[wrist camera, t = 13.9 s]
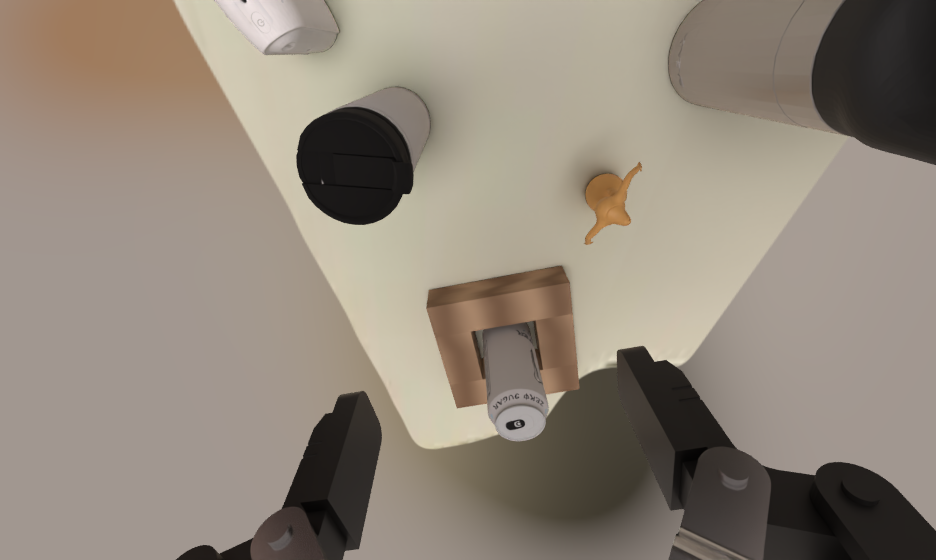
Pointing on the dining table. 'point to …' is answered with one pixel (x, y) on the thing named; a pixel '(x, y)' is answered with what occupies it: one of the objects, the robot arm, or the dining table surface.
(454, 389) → the wooden square frame
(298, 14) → the photo printer
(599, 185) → the figurine
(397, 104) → the travel mug
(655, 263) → the dining table surface
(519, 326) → the energy drink can
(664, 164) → the dining table surface
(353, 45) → the dining table surface
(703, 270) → the dining table surface
